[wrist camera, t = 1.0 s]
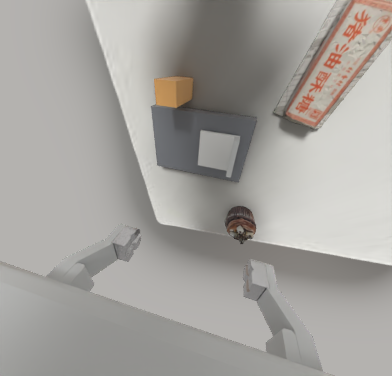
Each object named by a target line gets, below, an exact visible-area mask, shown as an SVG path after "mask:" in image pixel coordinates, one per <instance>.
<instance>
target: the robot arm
mask: <svg viewBox="0 0 392 376" xmlns="http://www.w3.org/2000/svg"><path fill="white" fill-rule="evenodd" d="M139 233H140V230H139V229H136V228H133V227H129V226H126V225H123V224H120V225H118V226H117V227H116V228H115V229H114V231H113V232H112V233H111V234H110V235H109V236H108V237H107V238H106V239H105V241H104V240H102V241H100V242H98V243H96V244H94V245H92V246H89V247H87V248H85V249H83V250H81V251H79V252H76V253H74V254H72V255H70V256H68V257H66V258H65V259H63V261H62V262H60V263H59V264H58V265H57V266H56V267H55V268H54V269H53V270H52V271H51V272H50V273H49V274H48V275H47V276H46V277H45V276H42V275H38V274H36V273H33V272H30V271H27V270H24V269H21V268H18V267H15V266H12V265H10V264H7V263H4V262H1V261H0V376H334V375H331V374H328V373H325V372H323V370H322V367H321V363H320V360H319V356H318V353H317V350H316V346H315V343H314V339H313V336H312V335H311V334H310V332H309V331H308V330H307V328H306V327H305V325H304V324H303V322H302V321H301V320H300V318H299V317H298V316H297V314H296V313H295V311H294V310H293V308H292V307H291V306H290V304H289V303H288V302H287V300H286V299H285V297H284V296H283V294H282V293H281V292H279V291H278V287H277V281H276V276H275V271H274V267H273V266H272V265H270V264H266V263H263V262H259V261H255V260H251V259H249V260H248V265H246V266H245V268H244V272H243V280H244V281H245V284H244V287H243V288H244V297H246V298H249V299H252V300H255V301H257V303H258V306H259V308H260V310H261V312H262V313H263V316H264V318H265V320H266V322H267V324H268V326H269V328H270V330H271V332H272V334H273V337H272V338H271V339H270V340H268V341H267V342H266V351H267V352H264V351H261V350H258V349H255V348H252V347H249V346H246V345H243V344H240V343H238V342H234V341H232V340H228V339H226V338H223V337H220V336H217V335H214V334H211V333H208V332H205V331H202V330H199V329H196V328H193V327H191V326H188V325H185V324H181V323H179V322H176V321H173V320H170V319H167V318H164V317H162V316H159V315H156V314H153V313H150V312H147V311H144V310H141V309H138V308H135V307H132V306H130V305H127V304H124V303H121V302H118V301H115V300H112V299H109V298H106V297H103V296H100V295H97V294H94V293H92V292H90V290H91V289H92V288H93V286H94V282H93V281H92V279H91V277H93V276H94V275H96V274H97V273H99V272H100V271H102V270H103V269H105V268H106V267H107V266H109V265H110V264H112V263H113V262H115V261H116V260H117V259H120V260H124V261H127V262H128V261H129V260H130V258H131V257H132V255H133V250H135V249H137V247H138V246H139V244H140V241H141V236H140V235H139Z"/></svg>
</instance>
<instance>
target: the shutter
mask: <svg viewBox="0 0 392 376" xmlns="http://www.w3.org/2000/svg"><path fill="white" fill-rule="evenodd" d="M239 142H240V136H237V135H230V134H224V133H218V132H212V131H205V130H201V131H200V143H199V155H198V165H200V166H205V167H210V168H215V169H220V170H225V171H227V173H226V177H229V178H231V174H232V170H233V166H234V162H235V158H236V154H237V150H238V146H239Z"/></svg>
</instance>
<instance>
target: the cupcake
mask: <svg viewBox="0 0 392 376" xmlns="http://www.w3.org/2000/svg"><path fill="white" fill-rule="evenodd" d="M225 226H226V227H227V232H228V233H229V235H231V236H232V237H233V238H235V239H237V240H239V241H240V242H241V244H243V243H245V240H247V239H252V238H253V235H254V234H255V232H256V224H255V221H254V218H253V214H252V212H251V211H250V210H249V209H247V208H246V207H241V206H238V207H234V208H232V209H231V210H230V211H229V213H228V216H227V218H226V220H225Z"/></svg>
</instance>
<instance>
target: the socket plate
mask: <svg viewBox="0 0 392 376" xmlns="http://www.w3.org/2000/svg"><path fill="white" fill-rule="evenodd" d="M151 109H152V119H153V128H154V138H155V147H156V157H157V165H158V166H162V167H167V168H172V169H177V170H182V171H186V172H191V173H196V174H201V175H206V176H210V177H215V178H220V179H225V180H230V181H234V182H239V179H240V176H241V172H242V169H243V166H244V162H245V159H246V155H247V152H248V149H249V145H250V142H251V138H252V135H253V132H254V128H255V125H256V121H257V119H256V117H250V116H243V115H236V114H228V113H221V112H213V111H206V110H199V109H191V108H184V107H177V108H174V107H167V106H160V105H156V104H155V105H153V106H151ZM201 130H205V131H212V132H218V133H224V134H230V135H237V136H240V142H239V146H238V150H237V154H236V158H235V162H234V166H233V170H232V174H231V178H229V177H226V173H227V171H225V170H220V169H215V168H210V167H205V166H200V165H198V155H199V143H200V131H201Z"/></svg>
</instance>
